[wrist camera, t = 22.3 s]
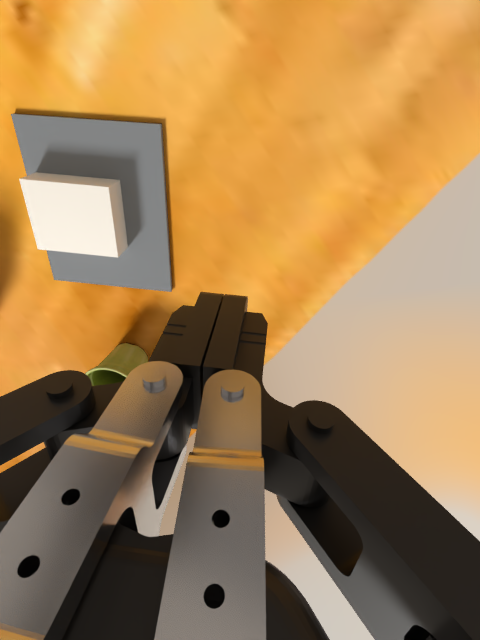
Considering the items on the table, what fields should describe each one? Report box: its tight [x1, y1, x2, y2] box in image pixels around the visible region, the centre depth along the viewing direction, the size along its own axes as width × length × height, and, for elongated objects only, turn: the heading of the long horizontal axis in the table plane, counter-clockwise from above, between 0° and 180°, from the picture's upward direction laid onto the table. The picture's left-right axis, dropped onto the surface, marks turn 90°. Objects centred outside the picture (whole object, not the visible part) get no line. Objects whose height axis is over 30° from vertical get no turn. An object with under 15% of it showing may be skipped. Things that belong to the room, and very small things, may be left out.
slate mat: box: [11, 114, 172, 292], centre depth 50 cm, size 22×18×1 cm
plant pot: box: [85, 343, 148, 386], centre depth 60 cm, size 9×9×9 cm
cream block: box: [19, 172, 128, 258], centre depth 48 cm, size 9×4×11 cm
